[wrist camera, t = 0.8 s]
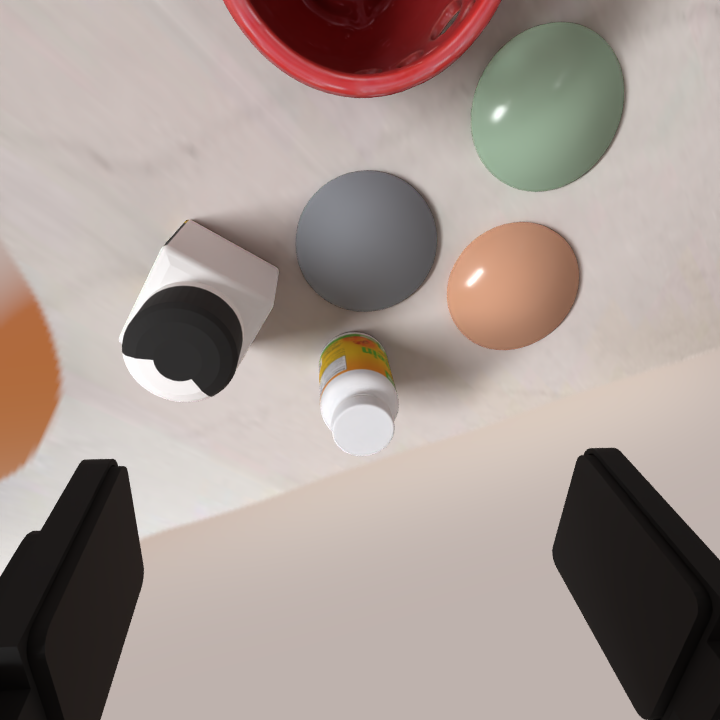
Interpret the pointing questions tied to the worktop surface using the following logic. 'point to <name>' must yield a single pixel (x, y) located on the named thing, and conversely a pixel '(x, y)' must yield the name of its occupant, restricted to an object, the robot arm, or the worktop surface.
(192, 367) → the medicine bottle
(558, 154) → the sage green coaster
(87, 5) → the worktop surface
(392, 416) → the supplement bottle
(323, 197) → the slate grey coaster
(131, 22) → the worktop surface
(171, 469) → the worktop surface
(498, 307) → the peach coaster
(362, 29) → the plant pot
